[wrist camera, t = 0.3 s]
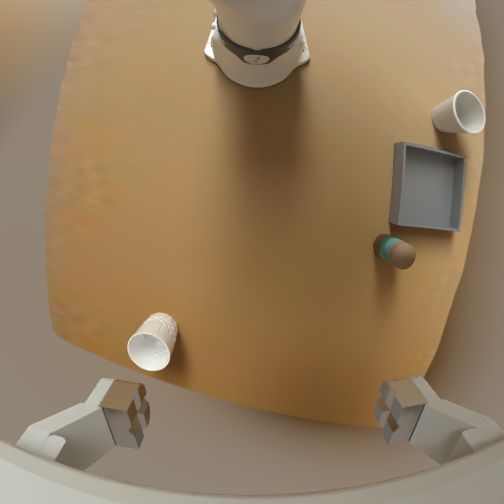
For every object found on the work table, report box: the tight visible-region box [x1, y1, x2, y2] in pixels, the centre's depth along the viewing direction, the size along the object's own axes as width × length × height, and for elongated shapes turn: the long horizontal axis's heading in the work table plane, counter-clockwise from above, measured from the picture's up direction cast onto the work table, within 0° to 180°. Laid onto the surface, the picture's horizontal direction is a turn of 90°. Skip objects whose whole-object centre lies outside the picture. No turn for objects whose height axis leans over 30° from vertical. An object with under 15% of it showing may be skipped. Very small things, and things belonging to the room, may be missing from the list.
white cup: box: [127, 313, 178, 371], centre depth 55 cm, size 8×8×10 cm
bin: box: [389, 142, 466, 232], centre depth 52 cm, size 15×15×4 cm
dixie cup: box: [431, 90, 485, 135], centre depth 45 cm, size 8×8×10 cm
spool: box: [373, 234, 415, 269], centre depth 52 cm, size 4×4×9 cm
